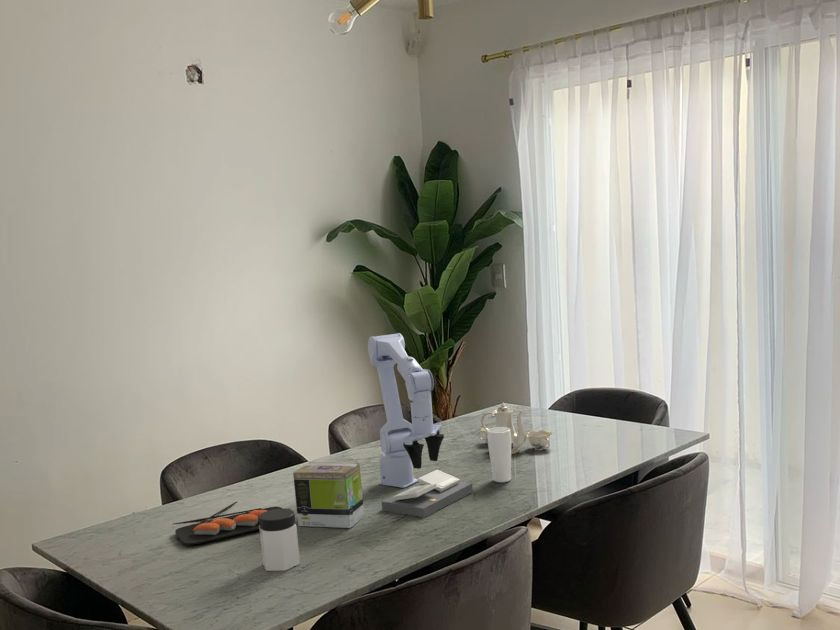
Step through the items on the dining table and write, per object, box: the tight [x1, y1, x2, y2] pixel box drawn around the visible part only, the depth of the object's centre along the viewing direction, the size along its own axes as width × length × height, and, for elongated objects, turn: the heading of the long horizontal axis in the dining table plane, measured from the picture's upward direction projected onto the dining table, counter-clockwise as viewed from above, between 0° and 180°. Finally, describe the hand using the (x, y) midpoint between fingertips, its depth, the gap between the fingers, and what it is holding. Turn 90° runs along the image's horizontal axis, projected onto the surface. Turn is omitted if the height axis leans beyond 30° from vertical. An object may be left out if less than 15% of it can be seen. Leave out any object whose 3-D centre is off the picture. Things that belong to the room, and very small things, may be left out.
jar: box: [259, 508, 301, 572], centre depth 199 cm, size 9×8×12 cm
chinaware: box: [477, 402, 553, 455], centre depth 283 cm, size 28×17×17 cm, turn 58°
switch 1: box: [393, 484, 437, 500], centre depth 232 cm, size 8×9×1 cm
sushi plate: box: [173, 501, 284, 546], centre depth 233 cm, size 29×30×4 cm
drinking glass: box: [487, 427, 512, 483], centre depth 250 cm, size 7×7×15 cm
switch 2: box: [417, 469, 461, 492], centre depth 241 cm, size 8×9×1 cm
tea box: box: [292, 462, 365, 529], centre depth 226 cm, size 15×10×15 cm, turn 71°
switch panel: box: [381, 481, 474, 519], centre depth 237 cm, size 14×23×3 cm, turn 144°
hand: (425, 464), depth 236 cm, fingers open, 7 cm apart
